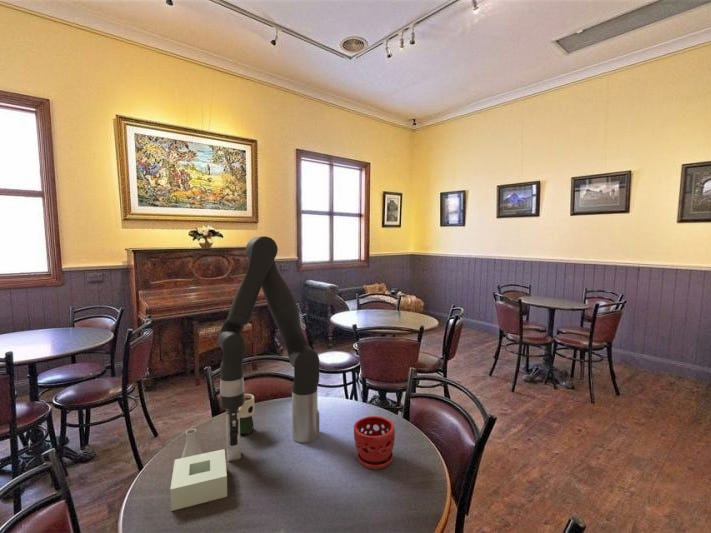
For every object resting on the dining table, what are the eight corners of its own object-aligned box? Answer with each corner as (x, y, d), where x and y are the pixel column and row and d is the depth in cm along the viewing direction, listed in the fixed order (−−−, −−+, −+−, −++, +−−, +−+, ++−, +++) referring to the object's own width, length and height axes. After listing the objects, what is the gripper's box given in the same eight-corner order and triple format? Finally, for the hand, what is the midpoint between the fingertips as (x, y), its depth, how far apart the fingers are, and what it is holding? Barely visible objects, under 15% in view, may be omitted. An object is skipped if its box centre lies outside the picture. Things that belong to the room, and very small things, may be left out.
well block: (225, 467, 112) (224, 449, 112) (227, 496, 100) (226, 475, 99) (175, 478, 107) (174, 459, 107) (171, 511, 94) (170, 489, 94)
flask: (194, 469, 112) (193, 438, 111) (174, 466, 113) (173, 435, 112) (208, 455, 119) (207, 426, 118) (189, 453, 120) (188, 424, 120)
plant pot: (365, 445, 125) (365, 411, 124) (400, 455, 118) (400, 420, 118) (346, 465, 113) (346, 429, 112) (384, 478, 107) (384, 440, 106)
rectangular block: (239, 451, 121) (238, 411, 120) (240, 458, 117) (239, 417, 116) (227, 454, 119) (226, 414, 118) (227, 461, 116) (226, 419, 115)
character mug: (249, 439, 128) (249, 404, 128) (230, 439, 129) (229, 404, 128) (258, 424, 139) (258, 391, 138) (240, 423, 139) (240, 391, 139)
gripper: (246, 397, 112) (247, 450, 113) (242, 381, 125) (243, 428, 126) (220, 401, 109) (222, 455, 110) (219, 384, 122) (220, 433, 123)
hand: (233, 441), depth 118 cm, fingers closed on rectangular block, 4 cm apart
